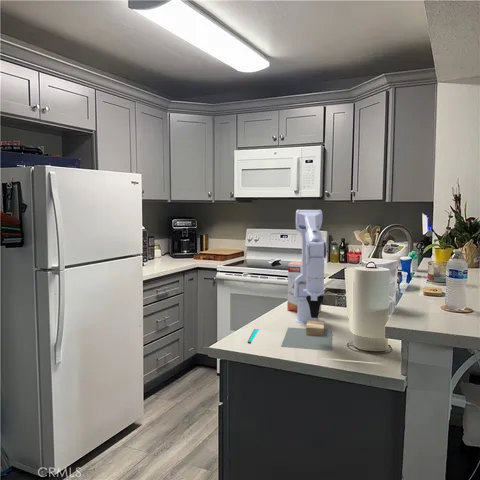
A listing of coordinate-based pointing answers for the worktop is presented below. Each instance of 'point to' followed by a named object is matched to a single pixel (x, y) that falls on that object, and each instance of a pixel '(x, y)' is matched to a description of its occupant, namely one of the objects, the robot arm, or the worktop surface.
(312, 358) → the worktop surface
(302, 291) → the robot arm
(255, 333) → the smartphone
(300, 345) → the rubber mat
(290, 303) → the cracker box
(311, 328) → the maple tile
